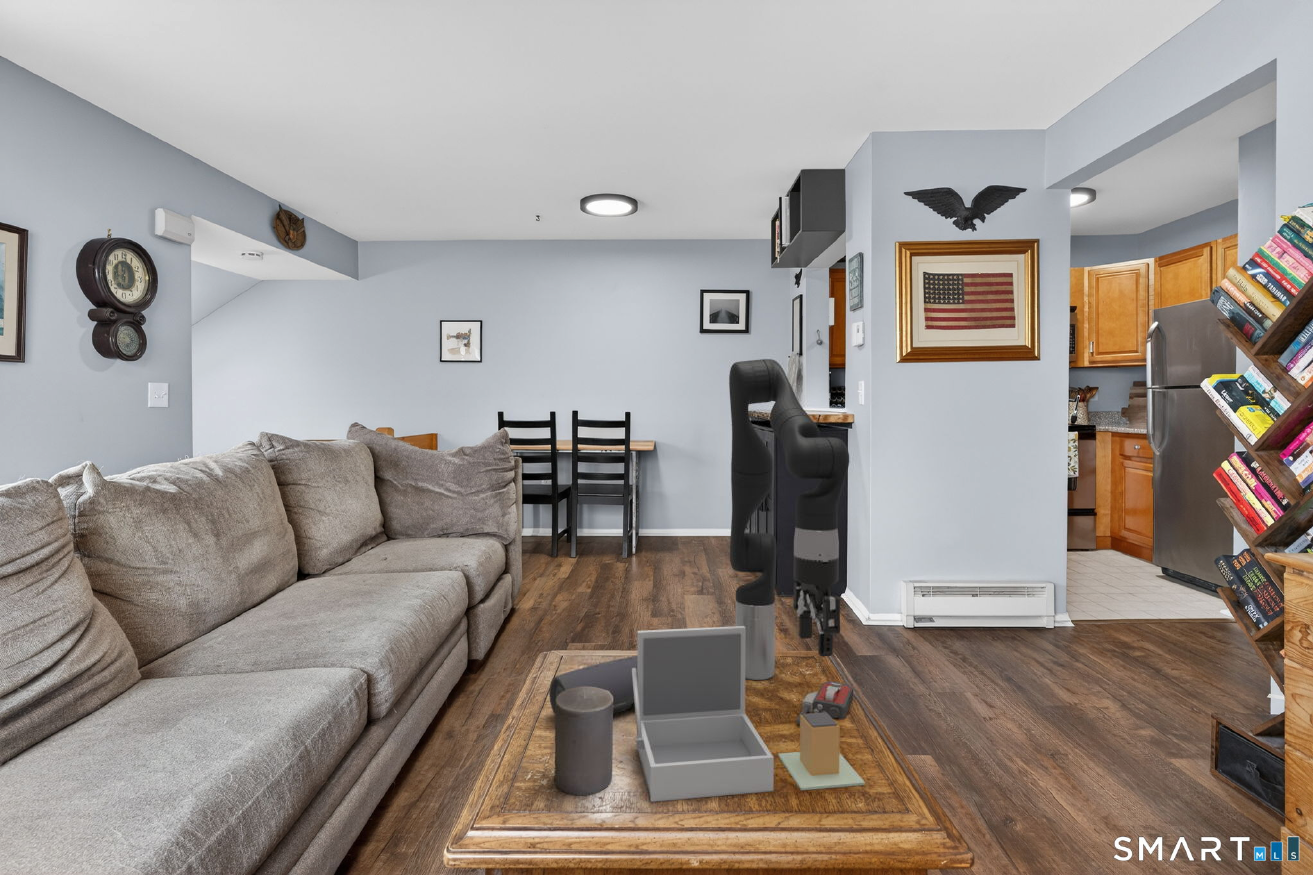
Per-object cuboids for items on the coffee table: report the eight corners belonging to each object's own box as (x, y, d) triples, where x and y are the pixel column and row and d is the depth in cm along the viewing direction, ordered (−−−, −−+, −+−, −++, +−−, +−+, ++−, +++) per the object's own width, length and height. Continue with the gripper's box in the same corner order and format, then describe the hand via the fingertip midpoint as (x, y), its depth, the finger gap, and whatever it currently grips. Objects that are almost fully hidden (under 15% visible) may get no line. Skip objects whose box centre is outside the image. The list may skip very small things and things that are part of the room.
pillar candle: (542, 779, 108) (542, 690, 107) (586, 757, 115) (587, 673, 114) (580, 803, 101) (581, 709, 101) (625, 778, 108) (626, 690, 108)
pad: (778, 755, 116) (778, 753, 116) (836, 751, 117) (836, 748, 117) (801, 790, 105) (801, 787, 105) (865, 784, 107) (865, 782, 107)
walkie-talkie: (814, 690, 145) (792, 728, 127) (814, 670, 145) (792, 705, 127) (855, 697, 141) (838, 737, 123) (855, 677, 141) (838, 714, 123)
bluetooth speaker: (642, 690, 144) (642, 645, 144) (666, 705, 136) (666, 658, 136) (547, 716, 131) (547, 667, 131) (568, 735, 123) (568, 682, 123)
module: (799, 760, 113) (800, 713, 113) (826, 758, 114) (827, 711, 114) (810, 775, 108) (811, 726, 108) (839, 773, 109) (839, 724, 109)
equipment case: (630, 746, 119) (630, 630, 118) (742, 738, 122) (743, 624, 122) (643, 802, 101) (643, 666, 101) (773, 790, 105) (774, 658, 104)
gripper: (780, 545, 118) (779, 633, 119) (811, 563, 104) (810, 663, 105) (819, 544, 119) (818, 631, 120) (855, 562, 105) (854, 660, 106)
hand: (815, 646), depth 112 cm, fingers open, 8 cm apart
